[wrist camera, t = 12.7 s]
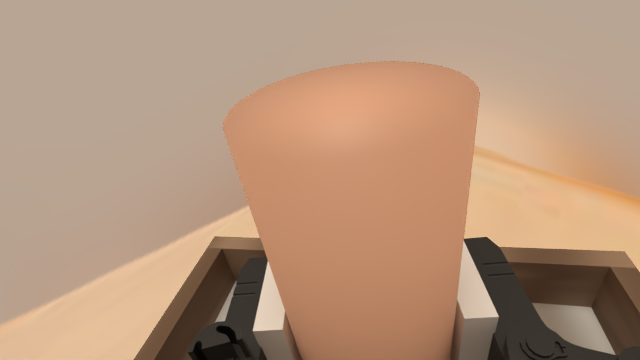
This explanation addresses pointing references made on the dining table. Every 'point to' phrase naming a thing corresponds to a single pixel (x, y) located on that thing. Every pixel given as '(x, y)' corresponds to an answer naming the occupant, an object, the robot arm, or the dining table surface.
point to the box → (550, 303)
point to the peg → (361, 203)
